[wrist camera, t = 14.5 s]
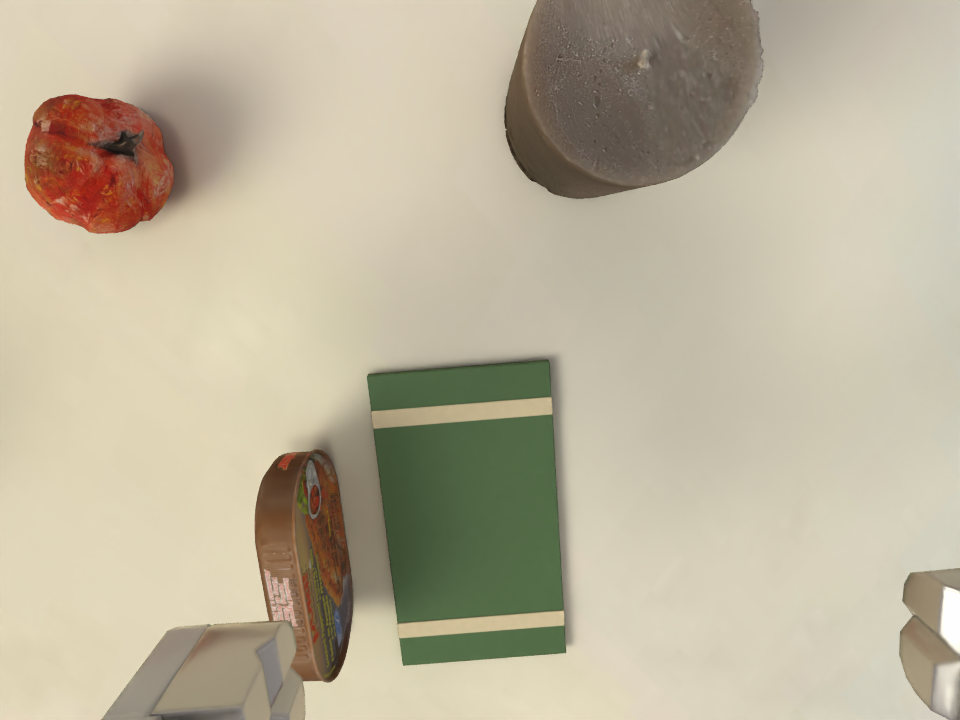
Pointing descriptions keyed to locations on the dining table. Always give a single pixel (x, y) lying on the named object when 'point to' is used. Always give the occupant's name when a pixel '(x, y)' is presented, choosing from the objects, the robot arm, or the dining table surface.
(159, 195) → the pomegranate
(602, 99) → the pillar candle
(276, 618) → the tin
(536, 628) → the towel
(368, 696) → the dining table surface
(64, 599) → the dining table surface
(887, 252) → the dining table surface
